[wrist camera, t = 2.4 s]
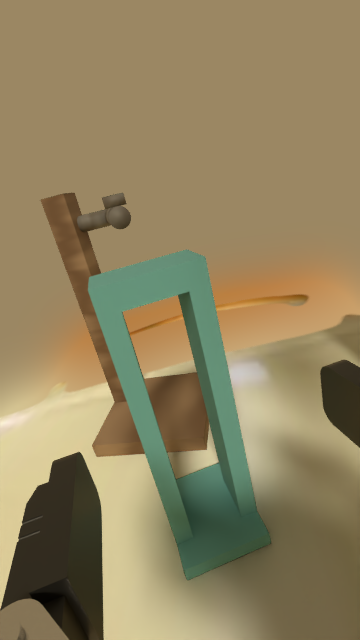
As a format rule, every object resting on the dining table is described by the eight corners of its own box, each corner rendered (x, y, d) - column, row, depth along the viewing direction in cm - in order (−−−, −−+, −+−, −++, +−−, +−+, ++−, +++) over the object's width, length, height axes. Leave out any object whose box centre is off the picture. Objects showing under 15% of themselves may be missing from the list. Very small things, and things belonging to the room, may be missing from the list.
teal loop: (230, 467, 28) (180, 246, 21) (270, 543, 22) (217, 261, 15) (165, 493, 27) (89, 271, 20) (187, 580, 21) (87, 299, 14)
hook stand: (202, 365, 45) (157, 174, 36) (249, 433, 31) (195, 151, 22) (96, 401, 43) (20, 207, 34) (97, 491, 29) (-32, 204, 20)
